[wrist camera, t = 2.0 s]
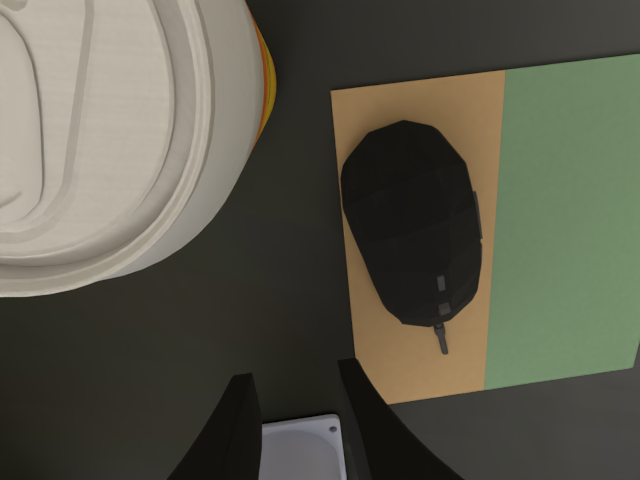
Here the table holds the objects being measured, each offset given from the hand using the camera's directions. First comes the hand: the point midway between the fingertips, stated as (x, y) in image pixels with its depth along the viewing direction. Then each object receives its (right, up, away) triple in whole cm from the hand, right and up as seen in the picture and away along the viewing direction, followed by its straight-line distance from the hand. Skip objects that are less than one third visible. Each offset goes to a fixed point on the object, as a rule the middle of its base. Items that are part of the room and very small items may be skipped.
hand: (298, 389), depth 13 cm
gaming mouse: (+6, +4, +9) cm, 12 cm away
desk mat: (+12, +4, +10) cm, 16 cm away
